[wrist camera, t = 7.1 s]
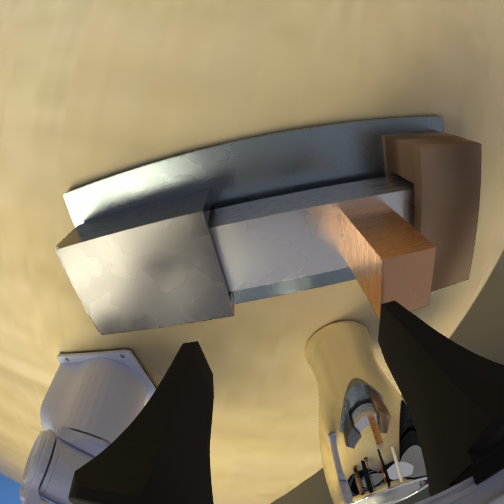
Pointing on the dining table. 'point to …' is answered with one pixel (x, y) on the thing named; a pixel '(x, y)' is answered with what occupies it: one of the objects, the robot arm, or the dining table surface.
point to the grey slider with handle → (329, 240)
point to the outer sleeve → (203, 220)
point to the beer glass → (362, 421)
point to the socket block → (441, 195)
